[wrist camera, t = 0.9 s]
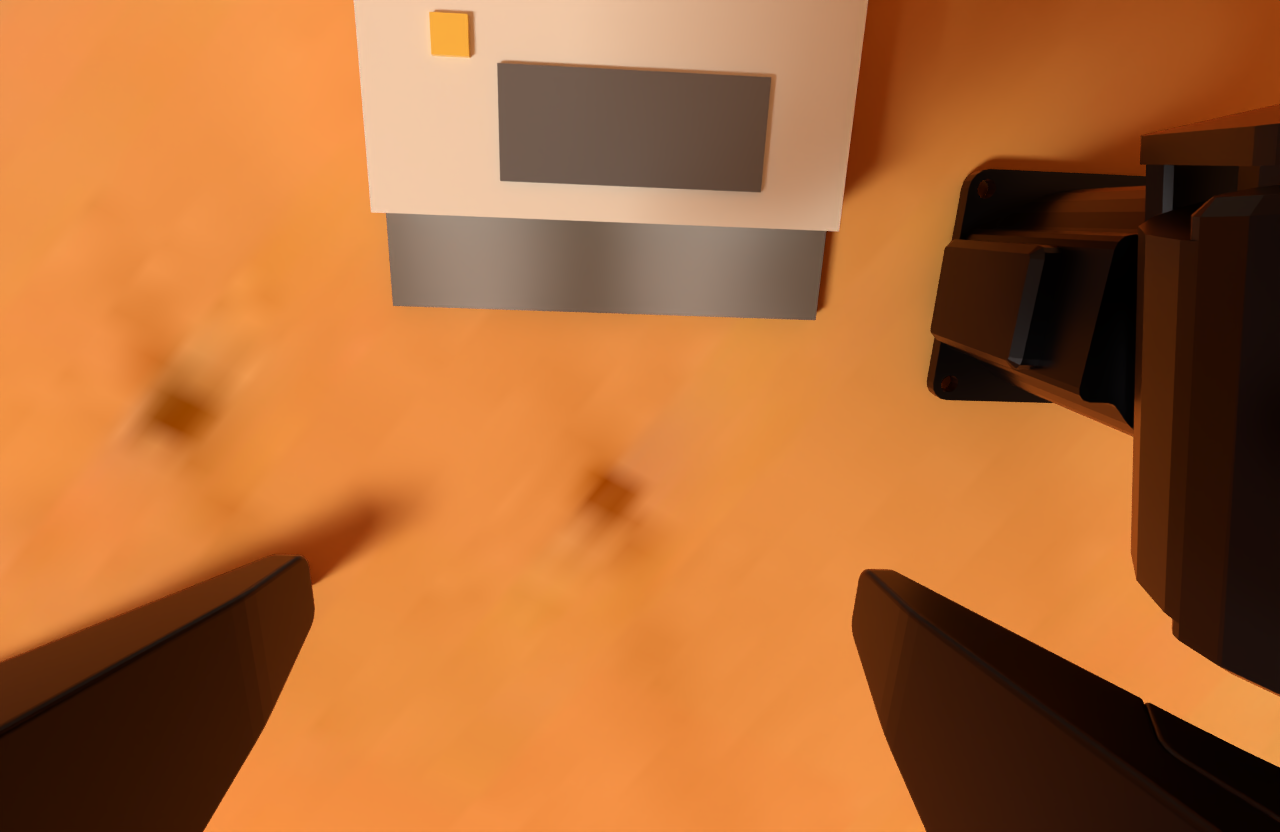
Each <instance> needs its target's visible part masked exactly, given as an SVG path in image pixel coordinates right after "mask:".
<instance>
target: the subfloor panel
mask: <svg viewBox="0 0 1280 832" xmlns="http://www.w3.org/2000/svg"><path fill="white" fill-rule="evenodd" d="M386 218H387V231H388V244H389V258H390V271H391V284H392V297H393V306H417V307H446V308H475V309H505V310H534V311H563V312H593V313H622V314H652V315H681V316H710V317H740V318H769V319H799V320H816V312H817V304H818V296H819V287H820V279H821V271H822V263H823V255H824V246H825V238H826V231H817V230H792V229H768V228H743V227H719V226H694V225H670V224H645V223H621V222H597V221H572V220H548V219H523V218H499V217H474V216H450V215H425V214H401V213H386Z"/></svg>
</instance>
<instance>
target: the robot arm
mask: <svg viewBox="0 0 1280 832" xmlns="http://www.w3.org/2000/svg"><path fill="white" fill-rule="evenodd" d="M1140 164H1141V165H1146V176H1127V175H1106V174H1084V173H1062V172H1041V171H1019V170H997V169H988V170H980V171H975V172H973V173H972V174H970V175H969V176H968V177H967V178H966V179H965V180H964V182H963V185H962V188H961V192H960V198H959V204H958V209H957V215H956V220H955V226H954V232H953V237H952V241H951V242H950V243H949V244H948V245H947V246H946V248H945V250H944V256H943V262H942V267H941V273H940V279H939V284H938V290H937V296H936V301H935V307H934V313H933V319H932V324H931V333H932V334H933V336H934V337H935V338H934V344H933V349H932V355H931V360H930V366H929V372H928V377H927V387H928V389H929V391H930V392H931V393H932V394H934V395H935V396H937V397H939V398H940V399H945V400H966V401H1002V402H1037V403H1055V404H1058V405H1060V406H1062V407H1065V408H1067V409H1069V410H1072V411H1074V412H1077V413H1079V414H1081V415H1084V416H1086V417H1088V418H1091V419H1093V420H1095V421H1098V422H1100V423H1102V424H1105V425H1107V426H1109V427H1112V428H1114V429H1116V430H1119V431H1121V432H1124V433H1126V434H1128V435H1131V436H1133V437H1134V439H1133V483H1132V527H1131V555H1132V560H1133V565H1134V570H1135V575H1136V580H1137V581H1138V582H1139V584H1140V585H1141V586H1142V587H1143V588H1144V589H1145V591H1146V592H1147V593H1148V594H1149V595H1150V596H1151V598H1152V599H1153V600H1154V601H1155V602H1156V603H1157V605H1158V606H1159V607H1160V608H1161V609H1162V610H1163V611H1164V613H1166V614H1167V615H1168V616H1170V617H1171V618H1172V633H1173V635H1174V636H1175V637H1176V638H1177V639H1178V640H1179V641H1181V642H1182V643H1184V644H1185V645H1187V646H1188V647H1190V648H1191V649H1193V650H1195V651H1196V652H1198V653H1199V654H1201V655H1202V656H1204V657H1206V658H1207V659H1209V660H1210V661H1212V662H1213V663H1215V664H1216V665H1218V666H1220V667H1221V668H1223V669H1225V670H1226V671H1228V672H1229V673H1231V674H1233V675H1235V676H1237V677H1239V678H1242V679H1244V680H1246V681H1248V682H1250V683H1252V684H1254V685H1256V686H1258V687H1261V688H1263V689H1265V690H1267V691H1269V692H1271V693H1273V694H1275V695H1278V696H1280V104H1278V105H1274V106H1269V107H1265V108H1260V109H1256V110H1252V111H1247V112H1243V113H1238V114H1234V115H1229V116H1225V117H1221V118H1216V119H1212V120H1207V121H1203V122H1198V123H1194V124H1189V125H1185V126H1181V127H1176V128H1172V129H1167V130H1163V131H1158V132H1154V133H1150V134H1145V135H1142V136H1141V148H1140ZM983 180H984V181H985V182H986V183H987V186H988V190H987V192H986V195H985V196H983V197H982V198H981V197H980V196H979V195H978V191H977V188H978V186H979V183H980V182H982V181H983ZM947 376H951V383H950V385H949V386H947V387H946V388H943V389H942V388H941V383H942V381H943V379H944V378H945V377H947ZM314 611H315V607H314V598H313V590H312V582H311V574H310V567H309V563H308V561H307V559H306V558H305V557H304V556H302V555H292V554H274V555H270V556H267V557H265V558H262V559H260V560H257V561H255V562H252V563H250V564H247V565H245V566H242V567H240V568H237V569H235V570H232V571H230V572H227V573H224V574H222V575H219V576H217V577H214V578H212V579H209V580H207V581H204V582H202V583H199V584H197V585H194V586H192V587H189V588H187V589H184V590H182V591H179V592H177V593H174V594H172V595H169V596H167V597H164V598H161V599H159V600H156V601H154V602H151V603H149V604H146V605H144V606H141V607H139V608H136V609H134V610H131V611H129V612H126V613H124V614H121V615H119V616H116V617H114V618H111V619H109V620H106V621H103V622H101V623H98V624H96V625H93V626H91V627H88V628H86V629H83V630H81V631H78V632H76V633H73V634H71V635H68V636H66V637H63V638H61V639H58V640H56V641H53V642H51V643H48V644H46V645H43V646H40V647H38V648H35V649H33V650H30V651H28V652H25V653H23V654H20V655H18V656H15V657H13V658H10V659H8V660H5V661H3V662H0V832H203V831H204V829H205V828H206V826H207V824H208V823H209V821H210V819H211V818H212V816H213V814H214V813H215V811H216V809H217V807H218V806H219V804H220V802H221V801H222V799H223V797H224V796H225V794H226V792H227V791H228V789H229V787H230V785H231V784H232V782H233V780H234V779H235V777H236V775H237V774H238V772H239V770H240V769H241V767H242V765H243V763H244V762H245V760H246V758H247V757H248V755H249V753H250V752H251V750H252V748H253V747H254V745H255V743H256V741H257V740H258V738H259V736H260V734H261V732H262V731H263V729H264V727H265V725H266V723H267V721H268V719H269V717H270V715H271V713H272V711H273V709H274V707H275V705H276V702H277V700H278V698H279V696H280V694H281V692H282V689H283V687H284V685H285V683H286V681H287V678H288V676H289V674H290V672H291V670H292V667H293V665H294V663H295V661H296V659H297V657H298V654H299V652H300V650H301V648H302V646H303V643H304V641H305V639H306V637H307V635H308V632H309V630H310V628H311V626H312V623H313V619H314ZM852 632H853V637H854V641H855V644H856V647H857V650H858V653H859V657H860V660H861V663H862V666H863V669H864V673H865V676H866V679H867V682H868V685H869V689H870V692H871V695H872V698H873V701H874V704H875V708H876V711H877V714H878V717H879V720H880V723H881V726H882V729H883V732H884V735H885V737H886V740H887V742H888V745H889V747H890V750H891V752H892V754H893V757H894V759H895V761H896V763H897V766H898V768H899V770H900V773H901V775H902V777H903V779H904V782H905V784H906V786H907V789H908V791H909V793H910V795H911V798H912V800H913V802H914V805H915V807H916V809H917V811H918V814H919V816H920V818H921V821H922V823H923V825H924V827H925V830H926V832H1280V768H1279V767H1277V766H1275V765H1273V764H1271V763H1269V762H1267V761H1265V760H1263V759H1261V758H1259V757H1256V756H1254V755H1252V754H1250V753H1248V752H1246V751H1244V750H1242V749H1240V748H1238V747H1236V746H1234V745H1232V744H1230V743H1228V742H1226V741H1224V740H1222V739H1220V738H1218V737H1216V736H1214V735H1212V734H1210V733H1208V732H1206V731H1204V730H1202V729H1200V728H1198V727H1196V726H1194V725H1192V724H1190V723H1188V722H1186V721H1184V720H1182V719H1180V718H1178V717H1176V716H1174V715H1172V714H1170V713H1169V712H1167V711H1165V710H1163V709H1161V708H1159V707H1157V706H1155V705H1153V704H1151V703H1145V704H1144V702H1143V700H1142V699H1141V698H1139V697H1137V696H1135V695H1133V694H1132V693H1130V692H1128V691H1126V690H1124V689H1122V688H1120V687H1118V686H1116V685H1114V684H1112V683H1110V682H1108V681H1106V680H1104V679H1102V678H1101V677H1099V676H1097V675H1095V674H1093V673H1091V672H1089V671H1087V670H1085V669H1083V668H1081V667H1079V666H1077V665H1075V664H1073V663H1072V662H1070V661H1068V660H1066V659H1064V658H1062V657H1060V656H1058V655H1056V654H1054V653H1052V652H1050V651H1048V650H1046V649H1044V648H1043V647H1041V646H1039V645H1037V644H1035V643H1033V642H1031V641H1029V640H1027V639H1025V638H1023V637H1021V636H1019V635H1017V634H1015V633H1014V632H1012V631H1010V630H1008V629H1006V628H1004V627H1002V626H1000V625H998V624H996V623H994V622H992V621H990V620H988V619H986V618H985V617H983V616H981V615H979V614H977V613H975V612H973V611H971V610H969V609H967V608H965V607H963V606H961V605H959V604H957V603H956V602H954V601H952V600H950V599H948V598H946V597H944V596H942V595H940V594H938V593H936V592H934V591H932V590H930V589H928V588H926V587H925V586H923V585H921V584H919V583H917V582H915V581H913V580H911V579H909V578H907V577H905V576H903V575H901V574H899V573H897V572H896V571H893V570H888V569H866V570H864V571H863V572H862V573H861V575H860V577H859V581H858V587H857V593H856V599H855V605H854V611H853V616H852Z"/></svg>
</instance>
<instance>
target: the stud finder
mask: <svg viewBox="0 0 1280 832" xmlns="http://www.w3.org/2000/svg"><path fill="white" fill-rule="evenodd" d="M867 7H868V0H354V9H355V21H356V34H357V46H358V58H359V70H360V82H361V95H362V107H363V119H364V131H365V143H366V156H367V168H368V180H369V192H370V204H371V212H376V213H401V214H425V215H450V216H474V217H499V218H523V219H548V220H572V221H597V222H621V223H645V224H670V225H694V226H719V227H743V228H768V229H792V230H817V231H839V227H840V219H841V211H842V203H843V196H844V188H845V180H846V172H847V164H848V156H849V148H850V141H851V133H852V125H853V117H854V109H855V101H856V93H857V86H858V78H859V70H860V62H861V54H862V46H863V38H864V30H865V23H866V15H867Z"/></svg>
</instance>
